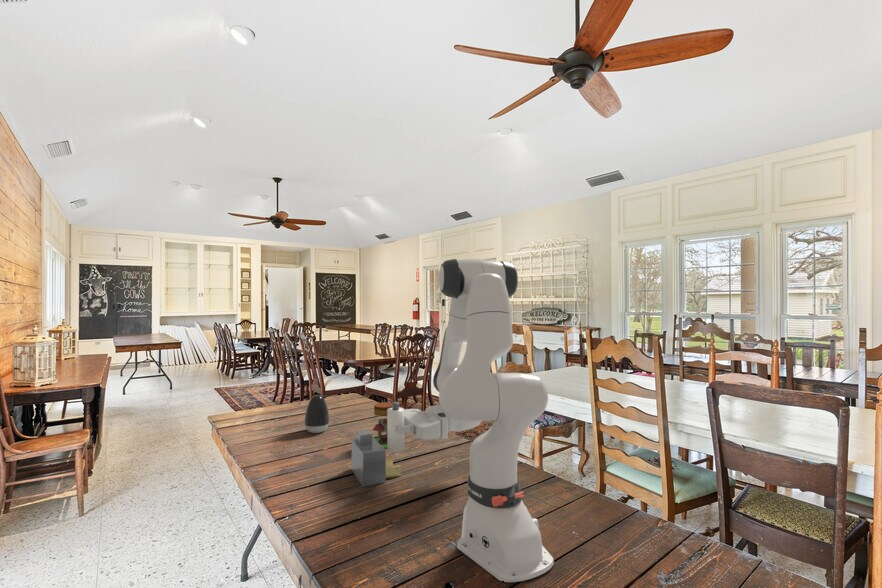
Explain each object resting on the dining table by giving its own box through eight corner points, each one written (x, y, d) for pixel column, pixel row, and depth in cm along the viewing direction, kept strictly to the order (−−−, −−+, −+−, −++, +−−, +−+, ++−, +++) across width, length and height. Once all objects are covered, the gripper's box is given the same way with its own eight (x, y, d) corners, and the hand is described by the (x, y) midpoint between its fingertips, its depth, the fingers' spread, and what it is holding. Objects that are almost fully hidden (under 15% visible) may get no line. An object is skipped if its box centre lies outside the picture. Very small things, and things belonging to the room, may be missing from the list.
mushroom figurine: (392, 451, 154) (392, 410, 154) (362, 446, 159) (362, 406, 159) (406, 440, 165) (406, 402, 165) (378, 436, 170) (378, 399, 170)
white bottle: (406, 450, 125) (406, 403, 125) (390, 453, 123) (390, 405, 123) (400, 445, 129) (400, 399, 129) (385, 448, 127) (385, 401, 127)
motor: (403, 478, 131) (404, 437, 131) (363, 487, 126) (363, 443, 126) (387, 460, 146) (387, 422, 146) (350, 467, 140) (350, 428, 140)
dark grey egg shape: (335, 430, 178) (335, 394, 178) (315, 437, 169) (315, 399, 169) (318, 425, 183) (318, 390, 183) (298, 432, 175) (299, 395, 174)
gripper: (421, 402, 141) (382, 407, 135) (449, 419, 123) (405, 425, 117) (421, 421, 141) (382, 426, 135) (449, 440, 123) (405, 448, 117)
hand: (392, 426), depth 126 cm, fingers closed on white bottle, 5 cm apart
